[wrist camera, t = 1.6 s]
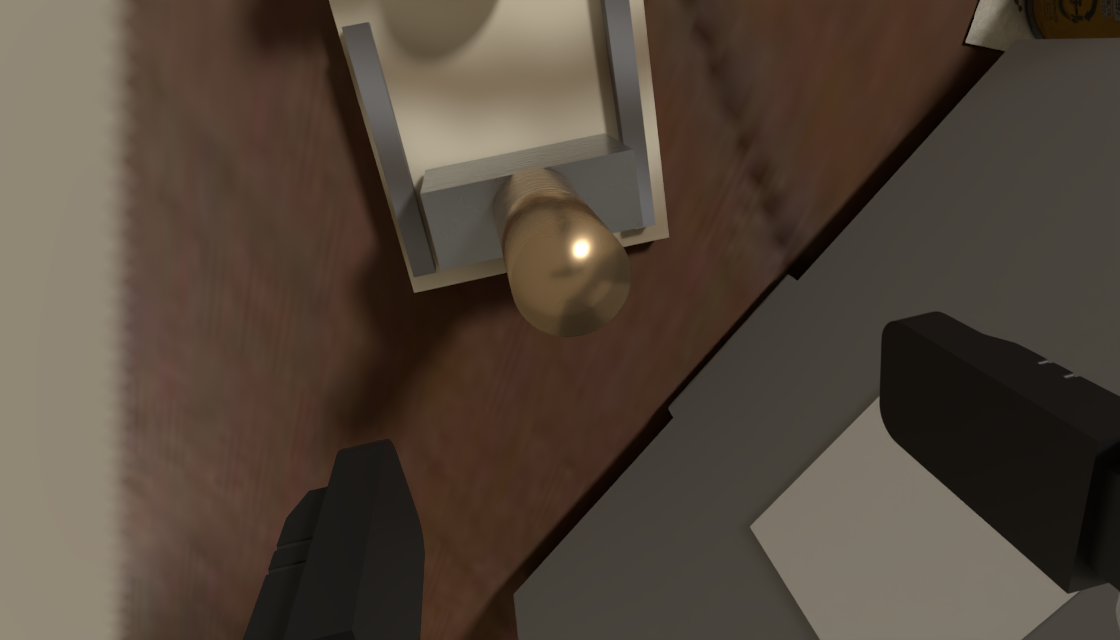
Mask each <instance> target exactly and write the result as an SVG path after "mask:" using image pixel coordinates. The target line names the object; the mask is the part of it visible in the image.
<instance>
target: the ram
mask: <svg viewBox="0 0 1120 640" xmlns="http://www.w3.org/2000/svg"><path fill="white" fill-rule="evenodd" d="M420 195H421V199H422V202H423V206H424V210H425V214H426V217H427V221H428V225H429V228H430V232H431V236H432V240H433V243H434V247H435V251H436V255H437V258H438V262H439V266H440V269H441V271H442V270H447V269H451V268H456V267H461V266H465V265H470V264H474V263H479V262H484V261H488V260H493V259H497V258H502V257H503V258H504V262H505V267H506V271H507V275H508V279H509V283H510V287H511V291H512V295H513V299H514V302H515V304H516V306H517V308H518V310H519V311H520V313H521V315H522V316H523V317H524V318H525V319H526V320H527V321H528V322H529V323H530V324H531V325H533V326H534V327H536V328H537V329H539V330H541V331H543V332H545V333H548V334H551V335H555V336H562V337H574V336H580V335H584V334H588V333H591V332H593V331H595V330H597V329H599V328H601V327H603V326H604V325H605V324H607V323H608V322H609V321H610V320H611V319H613V318H614V317H615V316H616V314H617V313H618V312H619V311H620V309H621V308H622V306H623V305H624V303H625V301H626V299H627V296H628V293H629V290H630V285H631V266H630V261H629V258H628V255H627V253H626V251H625V249H624V247H623V246H622V244H621V243H620V242H619V240H618V239H617V238H616V237H615V236H614V235H613V234H612V233H617V232H621V231H626V230H631V229H635V228H640V227H643V220H642V212H641V204H640V196H639V188H638V180H637V172H636V164H635V156H634V149H632V148H630V147H629V146H627V145H625V144H623V143H621V142H620V141H618V140H616V139H614V138H612V137H611V136H609V135H607V134H605V133H603V134H598V135H593V136H588V137H583V138H579V139H574V140H569V141H564V142H559V143H554V144H550V145H545V146H540V147H535V148H530V149H525V150H520V151H516V152H511V153H506V154H501V155H496V156H491V157H486V158H482V159H477V160H472V161H467V162H462V163H457V164H453V165H448V166H443V167H438V168H433V169H428V170H425V175H424V179H423V184H422V188H421V192H420Z"/></svg>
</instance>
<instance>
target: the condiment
mask: <svg viewBox="0 0 1120 640" xmlns="http://www.w3.org/2000/svg"><path fill="white" fill-rule="evenodd" d="M1019 5H1021V6H1022V11H1021V12H1020V11H1019V8H1018V7H1019ZM1086 38H1120V0H1019V4H1018V5H1016V3H1015V2H1014V0H980V2H979V5H978V7H977V10H976V12H975V16H974V20H973V23H972V26H971V28H970V31H969V34H968V37H967V39H966V42H965V43H969V44H973V45H979V46H983V47H987V48H992V49H997V50H1002V51H1006V50H1007V49H1008V48H1009V47H1010V46H1011V45H1012V44H1013V43H1014V41H1015V40H1027V39H1086Z"/></svg>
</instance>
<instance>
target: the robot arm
mask: <svg viewBox="0 0 1120 640" xmlns="http://www.w3.org/2000/svg"><path fill="white" fill-rule="evenodd" d="M879 407H880V413H881V418H882V421H883V423H884V426H885V428H886V430H887V432H888V433H889V435H890V436H891V438H892V439H893V440H894V441H895V442H896V443H897V444H898V445H899V446H900V447H901V448H903V449H904V450H905V451H906V452H907V453H908V454H909V455H910V456H912V457H913V458H914V459H915V460H916V461H917V462H918V463H920V464H921V465H922V466H923V467H924V468H925V469H926V470H927V471H929V472H930V473H931V474H932V475H933V476H934V477H935V478H937V479H938V480H939V481H940V482H941V483H942V484H943V485H945V486H946V487H947V488H948V489H949V490H950V491H951V492H952V493H954V494H955V495H956V496H957V497H958V498H959V499H960V500H962V501H963V502H964V503H965V504H966V505H967V506H968V507H969V508H971V509H972V510H973V511H974V512H975V513H976V514H977V515H979V516H980V517H981V518H982V519H983V520H984V521H985V522H987V523H988V524H989V525H990V526H991V527H992V528H993V529H994V530H996V531H997V532H998V533H999V534H1000V535H1001V536H1002V537H1004V538H1005V539H1006V540H1007V541H1008V542H1009V543H1010V544H1011V545H1013V546H1014V547H1015V548H1016V549H1017V550H1018V551H1019V552H1021V553H1022V554H1023V555H1024V556H1025V557H1026V558H1027V559H1029V560H1030V561H1031V562H1032V563H1033V564H1034V565H1035V566H1036V567H1038V568H1039V569H1040V570H1041V571H1042V572H1043V573H1044V574H1046V575H1047V576H1048V577H1049V578H1050V579H1051V580H1052V581H1053V582H1055V583H1056V584H1057V585H1058V586H1059V587H1060V588H1061V589H1063V590H1064V591H1065V592H1066V593H1067V594H1070V593H1074V592H1077V591H1081V590H1085V589H1088V588H1092V587H1096V586H1099V585H1103V584H1107V583H1110V584H1111V585H1112V586H1113V587H1115V588H1116V589H1117V590H1118V591H1119V592H1120V396H1118V395H1116V394H1114V393H1112V392H1110V391H1108V390H1106V389H1105V388H1103V387H1101V386H1099V385H1097V384H1095V383H1093V382H1091V381H1089V380H1087V379H1085V378H1083V377H1081V376H1078V377H1075V376H1074V374H1073V372H1072V371H1070V370H1068V369H1066V368H1064V367H1062V366H1060V365H1058V364H1056V363H1054V362H1052V363H1048V361H1047V359H1046V358H1044V357H1042V356H1041V355H1039V354H1037V353H1035V352H1033V351H1031V350H1029V349H1027V348H1025V347H1023V346H1021V345H1019V344H1017V343H1014V342H1011V341H1007V340H1004V339H1000V338H996V337H993V336H989V335H985V334H982V333H980V332H979V331H977V330H975V329H973V328H971V327H969V326H967V325H965V324H963V323H962V322H960V321H958V320H956V319H954V318H952V317H950V316H948V315H947V314H945V313H942V312H939V311H933V312H929V313H925V314H920V315H916V316H912V317H908V318H903V319H899V320H895V321H891V322H889V323H888V324H886V326H885V327H884V329H883V332H882V338H881V367H880V399H879ZM424 560H425V552H424V541H423V534H422V529H421V524H420V520H419V517H418V514H417V511H416V508H415V505H414V502H413V499H412V496H411V493H410V490H409V487H408V484H407V481H406V479H405V476H404V473H403V470H402V467H401V464H400V461H399V458H398V455H397V452H396V449H395V447H394V445H393V443H392V442H391V440H389V439H384V440H380V441H376V442H371V443H367V444H363V445H359V446H354V447H350V448H346V449H342V450H340V451H339V452H338V453H337V456H336V459H335V463H334V466H333V470H332V473H331V477H330V480H329V484H328V487H324V488H320V489H316V490H312V491H309V492H308V493H307V494H306V495H305V497H304V498H303V499H302V500H301V501H300V503H299V504H298V505H297V506H296V507H295V508H294V510H293V511H292V512H291V513H290V514H289V516H288V517H287V518H286V521H285V524H284V527H283V529H282V532H281V535H280V538H279V540H278V543H277V551H275V552H274V554H273V557H272V560H271V563H270V566H269V568H268V570H269V575H266V577H265V580H264V582H263V585H262V588H261V591H260V594H259V596H258V599H257V602H256V605H255V608H254V610H253V613H252V616H251V619H250V621H249V624H248V627H247V630H246V633H245V635H244V638H243V640H420V631H421V613H422V596H423V578H424ZM1116 617H1117V621H1118V625H1119V629H1120V593H1119V597H1118V601H1117V605H1116Z"/></svg>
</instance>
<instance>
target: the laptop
mask: <svg viewBox="0 0 1120 640" xmlns="http://www.w3.org/2000/svg"><path fill="white" fill-rule="evenodd" d="M933 311H939V312H942V313H945V314H947V315H948V316H950V317H952V318H954V319H956V320H958V321H960V322H962V323H963V324H965V325H967V326H969V327H971V328H973V329H975V330H977V331H979V332H980V333H982V334H985V335H989V336H993V337H996V338H1000V339H1004V340H1007V341H1011V342H1014V343H1017V344H1019V345H1021V346H1023V347H1025V348H1027V349H1029V350H1031V351H1033V352H1035V353H1037V354H1039V355H1041V356H1042V357H1044V358H1046V359H1047V361H1048V363H1052V362H1054V363H1056V364H1058V365H1060V366H1062V367H1064V368H1066V369H1068V370H1070V371H1072V372H1073V374H1074V376H1075V377H1078V376H1081V377H1083V378H1085V379H1087V380H1089V381H1091V382H1093V383H1095V384H1097V385H1099V386H1101V387H1103V388H1105V389H1106V390H1108V391H1110V392H1112V393H1114V394H1116V395H1118V396H1120V38H1086V39H1027V40H1015V41H1014V43H1013V44H1012V45H1011V46H1010V47H1009V48H1008V49H1007V50H1006V51H1005V53H1004V54H1003V55H1002V56H1001V57H1000V58H999V59H998V60H997V61H996V62H995V64H994V65H993V66H992V67H991V68H990V69H989V70H988V71H987V72H986V73H985V75H984V76H983V77H982V78H981V79H980V80H979V81H978V82H977V83H976V85H975V86H974V87H973V88H972V89H971V90H970V91H969V92H968V93H967V94H966V96H965V97H964V98H963V99H962V100H961V101H960V102H959V103H958V104H957V105H956V107H955V108H954V109H953V110H952V111H951V112H950V113H949V114H948V115H947V117H946V118H945V119H944V120H943V121H942V122H941V123H940V124H939V125H938V126H937V128H936V129H935V130H934V131H933V132H932V133H931V134H930V135H929V136H928V137H927V139H926V140H925V141H924V142H923V143H922V144H921V145H920V146H919V147H918V149H917V150H916V151H915V152H914V153H913V154H912V155H911V156H910V157H909V158H908V160H907V161H906V162H905V163H904V164H903V165H902V166H901V167H900V168H899V169H898V171H897V172H896V173H895V174H894V175H893V176H892V177H891V178H890V179H889V181H888V182H887V183H886V184H885V185H884V186H883V187H882V188H881V189H880V190H879V192H878V193H877V194H876V195H875V196H874V197H873V198H872V199H871V200H870V201H869V203H868V204H867V205H866V206H865V207H864V208H863V209H862V210H861V211H860V213H859V214H858V215H857V216H856V217H855V218H854V219H853V220H852V221H851V222H850V224H849V225H848V226H847V227H846V228H845V229H844V230H843V231H842V232H841V233H840V235H839V236H838V237H837V238H836V239H835V240H834V241H833V242H832V243H831V244H830V246H829V247H828V248H827V249H826V250H825V251H824V252H823V253H822V254H821V256H820V257H819V258H818V259H817V260H816V261H815V262H814V263H813V264H812V265H811V267H810V268H809V269H808V270H807V271H806V272H805V273H804V274H803V275H802V276H801V278H800V279H799V280H798V281H797V280H796V279H794V278H793V277H791V276H790V275H788V274H787V275H786V276H785V278H784V279H783V280H782V281H781V282H780V283H779V284H778V285H777V286H776V288H775V289H774V290H773V291H772V292H771V293H770V294H769V295H768V296H767V298H766V299H765V300H764V301H763V302H762V303H761V304H760V305H759V306H758V308H757V309H756V310H755V311H754V312H753V313H752V314H751V315H750V316H749V318H748V319H747V320H746V321H745V322H744V323H743V324H742V325H741V326H740V328H739V329H738V330H737V331H736V332H735V333H734V334H733V335H732V336H731V338H730V339H729V340H728V341H727V342H726V343H725V344H724V345H723V346H722V348H721V349H720V350H719V351H718V352H717V353H716V354H715V355H714V356H713V358H712V359H711V360H710V361H709V362H708V363H707V364H706V365H705V366H704V368H703V369H702V370H701V371H700V372H699V373H698V374H697V375H696V376H695V378H694V379H693V380H692V381H691V382H690V383H689V384H688V385H687V386H686V388H685V389H684V390H683V391H682V392H681V393H680V394H679V395H678V397H677V398H676V399H675V400H674V401H673V402H672V403H671V404H670V405H669V407H668V409H669V411H670V413H671V415H672V416H673V419H672V420H671V421H670V422H669V423H668V424H667V425H666V427H665V428H664V429H663V430H662V431H661V432H660V433H659V434H658V435H657V436H656V438H655V439H654V440H653V441H652V442H651V443H650V444H649V445H648V446H647V448H646V449H645V450H644V451H643V452H642V453H641V454H640V455H639V456H638V457H637V459H636V460H635V461H634V462H633V463H632V464H631V465H630V466H629V467H628V468H627V470H626V471H625V472H624V473H623V474H622V475H621V476H620V477H619V478H618V480H617V481H616V482H615V483H614V484H613V485H612V486H611V487H610V488H609V489H608V491H607V492H606V493H605V494H604V495H603V496H602V497H601V498H600V499H599V500H598V502H597V503H596V504H595V505H594V506H593V507H592V508H591V509H590V510H589V511H588V513H587V514H586V515H585V516H584V517H583V518H582V519H581V520H580V521H579V523H578V524H577V525H576V526H575V527H574V528H573V529H572V530H571V531H570V532H569V534H568V535H567V536H566V537H565V538H564V539H563V540H562V541H561V542H560V543H559V545H558V546H557V547H556V548H555V549H554V550H553V551H552V552H551V553H550V555H549V556H548V557H547V558H546V559H545V560H544V561H543V562H542V563H541V564H540V566H539V567H538V568H537V569H536V570H535V571H534V572H533V573H532V574H531V575H530V577H529V578H528V579H527V580H526V581H525V582H524V583H523V584H522V585H521V587H520V588H519V589H518V590H517V591H516V592H515V593H514V594H513V596H514V605H515V614H516V623H517V632H518V640H1120V629H1119V625H1118V621H1117V617H1116V605H1117V601H1118V597H1119V593H1120V592H1119V591H1118V590H1117V589H1116V588H1115V587H1113V586H1112V585H1111V584H1110V583H1107V584H1103V585H1099V586H1096V587H1092V588H1088V589H1085V590H1081V591H1077V592H1074V593H1070V594H1067V593H1066V592H1065V591H1064V590H1063V589H1061V588H1060V587H1059V586H1058V585H1057V584H1056V583H1055V582H1053V581H1052V580H1051V579H1050V578H1049V577H1048V576H1047V575H1046V574H1044V573H1043V572H1042V571H1041V570H1040V569H1039V568H1038V567H1036V566H1035V565H1034V564H1033V563H1032V562H1031V561H1030V560H1029V559H1027V558H1026V557H1025V556H1024V555H1023V554H1022V553H1021V552H1019V551H1018V550H1017V549H1016V548H1015V547H1014V546H1013V545H1011V544H1010V543H1009V542H1008V541H1007V540H1006V539H1005V538H1004V537H1002V536H1001V535H1000V534H999V533H998V532H997V531H996V530H994V529H993V528H992V527H991V526H990V525H989V524H988V523H987V522H985V521H984V520H983V519H982V518H981V517H980V516H979V515H977V514H976V513H975V512H974V511H973V510H972V509H971V508H969V507H968V506H967V505H966V504H965V503H964V502H963V501H962V500H960V499H959V498H958V497H957V496H956V495H955V494H954V493H952V492H951V491H950V490H949V489H948V488H947V487H946V486H945V485H943V484H942V483H941V482H940V481H939V480H938V479H937V478H935V477H934V476H933V475H932V474H931V473H930V472H929V471H927V470H926V469H925V468H924V467H923V466H922V465H921V464H920V463H918V462H917V461H916V460H915V459H914V458H913V457H912V456H910V455H909V454H908V453H907V452H906V451H905V450H904V449H903V448H901V447H900V446H899V445H898V444H897V443H896V442H895V441H894V440H893V439H892V438H891V436H890V435H889V433H888V432H887V430H886V428H885V426H884V423H883V421H882V418H881V413H880V407H879V399H880V367H881V338H882V332H883V329H884V327H885V326H886V324H888V323H889V322H891V321H895V320H899V319H903V318H908V317H912V316H916V315H920V314H925V313H929V312H933Z"/></svg>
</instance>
